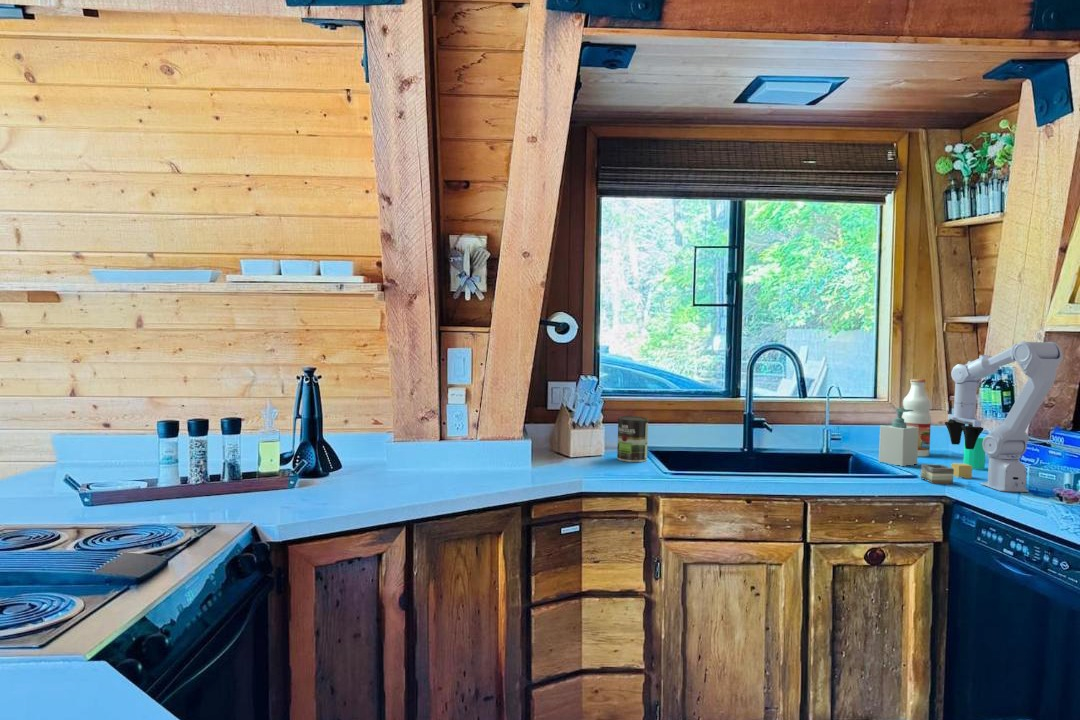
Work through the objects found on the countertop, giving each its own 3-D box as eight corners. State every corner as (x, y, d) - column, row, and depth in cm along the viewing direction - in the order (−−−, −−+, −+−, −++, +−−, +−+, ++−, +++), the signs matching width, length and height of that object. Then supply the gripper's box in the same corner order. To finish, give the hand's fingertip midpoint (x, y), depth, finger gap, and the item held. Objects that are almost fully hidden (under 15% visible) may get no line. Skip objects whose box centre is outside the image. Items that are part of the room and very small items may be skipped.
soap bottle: (902, 467, 228) (905, 410, 227) (878, 462, 236) (880, 407, 235) (917, 464, 233) (920, 409, 232) (893, 460, 240) (895, 406, 239)
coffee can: (636, 463, 225) (637, 421, 225) (610, 459, 232) (611, 418, 231) (653, 459, 233) (654, 418, 232) (627, 455, 240) (628, 415, 239)
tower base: (953, 483, 203) (953, 468, 203) (931, 483, 203) (932, 468, 203) (941, 479, 209) (941, 464, 209) (920, 478, 209) (921, 464, 209)
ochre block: (971, 478, 212) (972, 465, 212) (958, 478, 212) (959, 465, 212) (963, 475, 216) (964, 463, 216) (950, 475, 216) (951, 463, 216)
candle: (988, 470, 226) (990, 433, 225) (970, 469, 226) (971, 433, 225) (977, 466, 232) (978, 431, 231) (959, 466, 232) (960, 430, 231)
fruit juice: (901, 451, 259) (904, 377, 258) (929, 454, 254) (932, 379, 253) (899, 455, 251) (902, 379, 250) (929, 458, 246) (932, 380, 245)
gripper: (939, 400, 220) (936, 442, 221) (965, 405, 206) (962, 450, 206) (961, 400, 220) (958, 442, 221) (989, 406, 205) (986, 451, 206)
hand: (962, 446), depth 214 cm, fingers open, 7 cm apart
